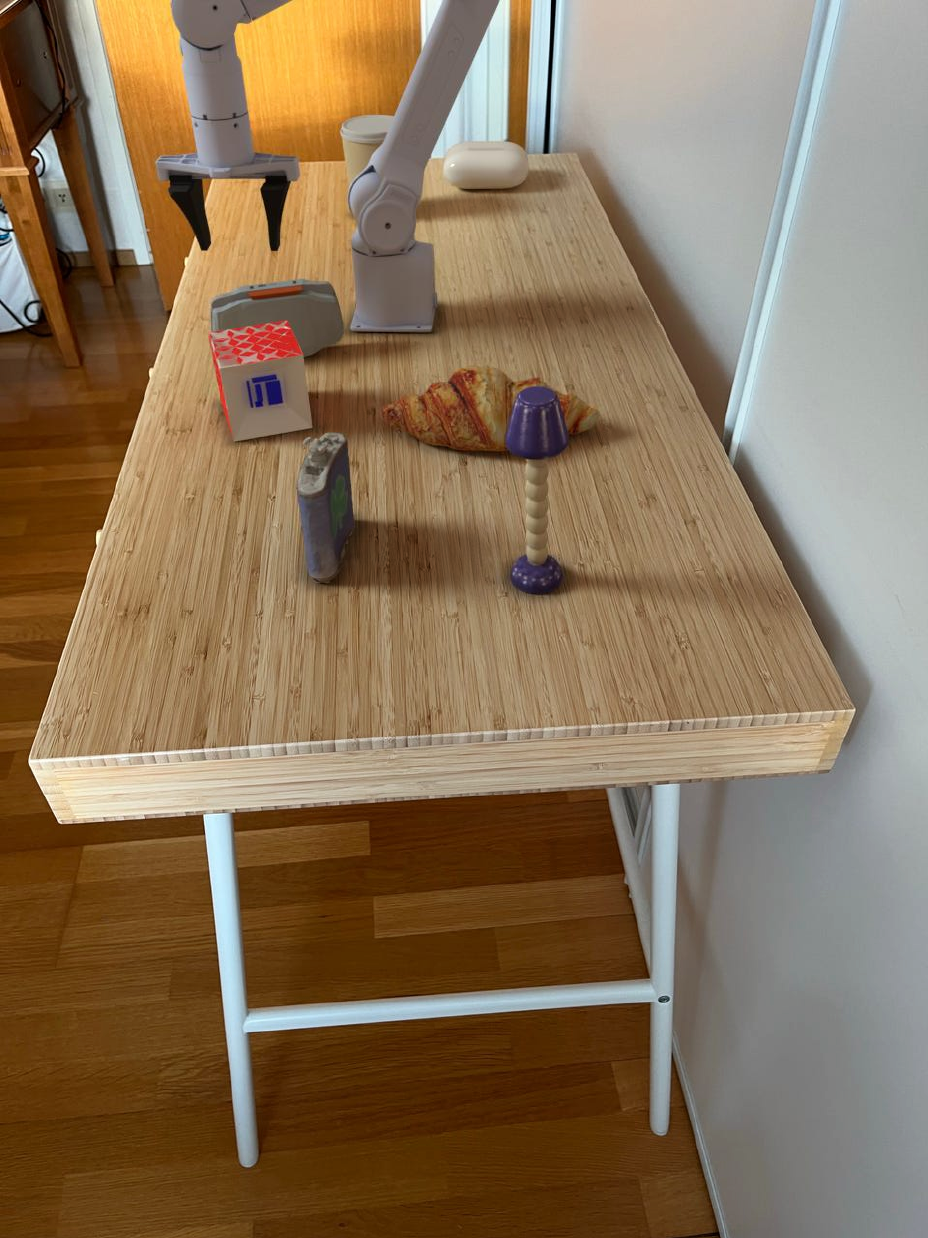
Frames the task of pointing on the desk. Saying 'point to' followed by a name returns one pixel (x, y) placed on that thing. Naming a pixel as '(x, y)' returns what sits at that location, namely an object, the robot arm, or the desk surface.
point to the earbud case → (485, 165)
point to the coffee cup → (362, 141)
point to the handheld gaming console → (283, 310)
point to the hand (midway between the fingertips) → (240, 247)
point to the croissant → (475, 410)
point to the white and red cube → (261, 380)
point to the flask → (325, 504)
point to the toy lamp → (536, 481)
